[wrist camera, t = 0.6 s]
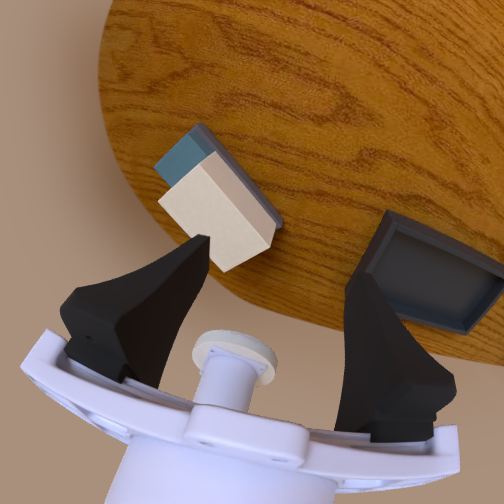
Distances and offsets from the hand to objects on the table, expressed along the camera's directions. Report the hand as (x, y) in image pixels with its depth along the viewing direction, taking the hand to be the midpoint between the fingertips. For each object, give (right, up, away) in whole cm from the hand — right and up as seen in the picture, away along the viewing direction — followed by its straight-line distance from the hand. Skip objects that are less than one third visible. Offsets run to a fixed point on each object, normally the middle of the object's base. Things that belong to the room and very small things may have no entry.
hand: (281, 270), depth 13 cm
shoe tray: (+16, -2, +9) cm, 18 cm away
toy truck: (-4, +6, +9) cm, 11 cm away
